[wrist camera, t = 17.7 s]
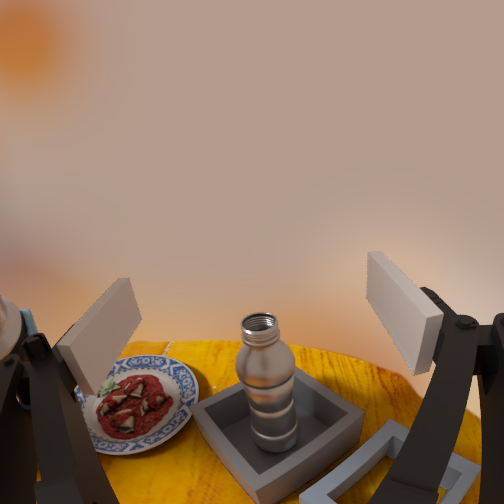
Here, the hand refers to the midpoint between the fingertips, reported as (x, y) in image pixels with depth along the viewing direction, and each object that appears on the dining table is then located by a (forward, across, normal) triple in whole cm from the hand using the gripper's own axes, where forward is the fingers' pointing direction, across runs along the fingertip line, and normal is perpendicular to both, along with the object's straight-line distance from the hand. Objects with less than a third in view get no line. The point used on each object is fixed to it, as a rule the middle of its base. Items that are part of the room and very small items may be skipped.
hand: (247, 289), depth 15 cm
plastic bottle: (+10, 0, -29) cm, 30 cm away
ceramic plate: (+18, -25, -30) cm, 43 cm away
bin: (+10, 0, -30) cm, 31 cm away
